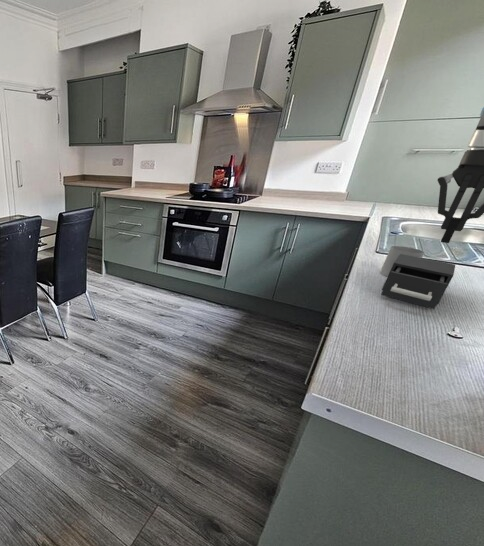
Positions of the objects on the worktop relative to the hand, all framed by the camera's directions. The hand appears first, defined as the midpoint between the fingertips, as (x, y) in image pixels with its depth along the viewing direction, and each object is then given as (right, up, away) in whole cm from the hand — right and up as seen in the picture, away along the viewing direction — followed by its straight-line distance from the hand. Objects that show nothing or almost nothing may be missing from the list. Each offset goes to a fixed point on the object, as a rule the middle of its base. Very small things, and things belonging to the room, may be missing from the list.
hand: (444, 241), depth 85 cm
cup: (+16, -10, +28) cm, 34 cm away
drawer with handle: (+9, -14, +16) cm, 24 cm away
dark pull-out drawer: (0, -16, +9) cm, 19 cm away
